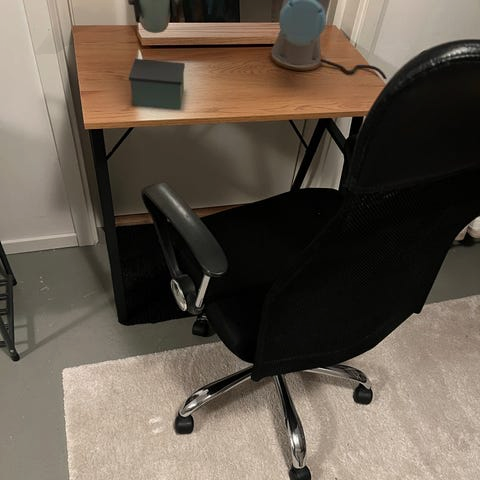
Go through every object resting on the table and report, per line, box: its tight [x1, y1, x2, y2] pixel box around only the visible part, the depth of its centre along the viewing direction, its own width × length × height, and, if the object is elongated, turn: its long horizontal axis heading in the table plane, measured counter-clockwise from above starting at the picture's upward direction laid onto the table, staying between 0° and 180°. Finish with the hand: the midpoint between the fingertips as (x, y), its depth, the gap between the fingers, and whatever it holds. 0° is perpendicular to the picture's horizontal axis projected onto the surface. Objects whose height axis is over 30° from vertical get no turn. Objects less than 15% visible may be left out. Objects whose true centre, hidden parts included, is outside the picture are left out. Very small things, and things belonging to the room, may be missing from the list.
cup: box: [138, 0, 171, 34], centre depth 109 cm, size 8×8×10 cm
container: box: [128, 58, 186, 110], centre depth 117 cm, size 13×11×7 cm
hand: (156, 19), depth 108 cm, fingers closed on cup, 8 cm apart
